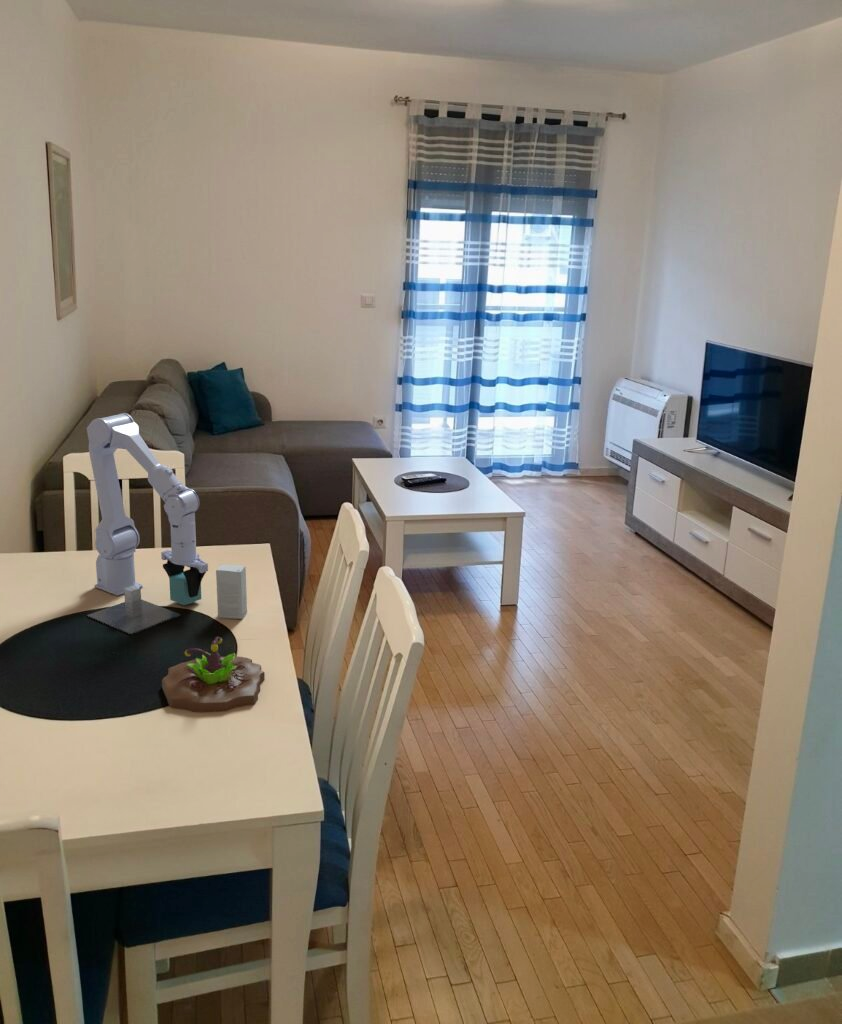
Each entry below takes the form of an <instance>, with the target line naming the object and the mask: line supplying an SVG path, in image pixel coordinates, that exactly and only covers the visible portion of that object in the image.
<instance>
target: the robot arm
mask: <svg viewBox="0 0 842 1024" xmlns="http://www.w3.org/2000/svg"><path fill="white" fill-rule="evenodd" d="M139 429H140V427H139V425H138V424H137V422H135V420H134V418H133V417H132V415H130V414H129V413H126V412H122V413H119V414H115V415H110V416H106V417H101V418H100V417H98V418H95V419H93V420H92V421H91V422H90V423H89V425H88V426H87V427H86V432H87V439H88V453H89V457H90V464H91V470H92V474H93V479H94V483H95V489H96V494H97V500H98V503H99V504H98V505H99V508H100V514H101V515H100V516H101V520H100V522H99V523H98V525H97V526H96V528H95V543H94V544H95V549H96V551H97V552H98V555H97V557H96V560H95V572H96V583H97V584H94V585H93V586H94V588H97V589H99V590H102V591H104V592H107V593H109V594H113V595H114V596H121V595H123V594H124V588H127V587H130V586H136V587H139V588H143V587H144V585H143V584H141V583H138V582H137V581H136V571H135V567H136V566H135V555H134V553H136V548H137V547H138V546H139V544H140V541H141V540H140V539H141V538H140V537H141V536H140V533H139V532H138V530H137V528H136V527H135V521H134V520H133V519H132V518H131V517H129V516H127V515H126V512H125V507H124V506H125V505H124V502H123V501H124V500H123V497H122V492H121V491H122V490H121V486H120V481H119V476H118V469H117V465H116V460H115V456H114V455H115V452H116V451H117V449H122V450H126V451H127V452H128V453H129V454H130V455H131V457H133V459H134V460H135V461H136V462H137V463H138V464H139V465H140V466H141V467H142V468H143V469H144V471H146V472H147V481H148V483H149V484H150V486H151V487H152V488H153V489H154V490H155V491H156V493H157V495H159V496H160V498H161V499H162V501H163V502H164V504H163V508H164V509H163V510H164V511H165V513H166V515H167V517H168V522H169V524H170V542H171V543H170V546H171V547H170V548H171V550H169V549H167V550H163V551H161V553H160V554H161V560H163V561H165V560H167V561H166V563H163V564H162V568H163V570H164V571H165V573H166V574H167V576H168V578H169V577H170V576H173V575H176V574H179V573H182V572H183V574H184V576H185V578H186V581H187V585H188V593H189V597H191V598H192V597H195V596H198V592H199V587H200V584H201V585H202V580H203V578H204V576H205V575H206V574H207V573H206V572H208V571H209V563H207V562H205V561H204V560H202V559H201V558H200V553H197V537H196V533H197V532H196V514H195V512H196V511H198V509H199V507H200V498H199V496H198V494H197V492H196V491H195V490H194V489H192V488H189V487H187V486H185V485H184V484H182V482H181V481H180V480H179V479H178V477H177V476H176V475H175V473H174V470H172V468H171V467H169V466H168V465H163V464H160V463H159V461H158V459H157V458H156V457H155V455H154V454H153V452H152V451H151V450H150V448H149V447H148V445H147V443H146V442H145V441H144V439H143V438H142V436H141V434H140V430H139ZM185 567H187V568H189V569H186V570H185Z"/></svg>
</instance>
